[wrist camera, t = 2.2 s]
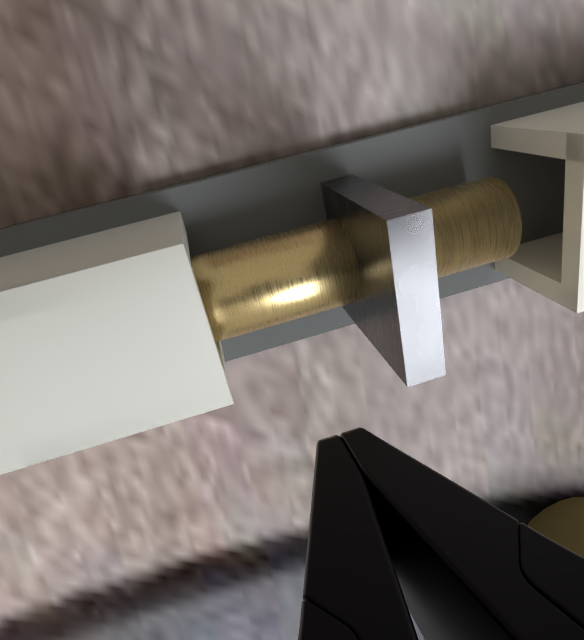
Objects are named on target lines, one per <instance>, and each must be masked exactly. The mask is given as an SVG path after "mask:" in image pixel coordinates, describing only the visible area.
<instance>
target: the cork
mask: <svg viewBox="0 0 584 640" xmlns="http://www.w3.org/2000/svg"><path fill="white" fill-rule="evenodd" d="M527 526H529V527H531V528H532V529H534V530H536V531H537V532H539V533H541V534H542V535H544V536H546V537H548V538H549V539H551V540H553V541H555V542H556V543H558V544H560V545H562V546H564V547H565V548H567V549H569V550H571V551H573V552H574V553H576V554H578V555H580V556H582V557H584V497H572V498H568V499H565V500H561V501H558V502H556V503H554V504H553V505H551V506H549V507H547V508H545V509H544V510H542V511H541V512H540V513H539V514H538V515H536V516H535V517H534V518H533V519H532V520H531V521H530V522H529V523H528V525H527Z"/></svg>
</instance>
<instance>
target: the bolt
mask: <svg viewBox="0 0 584 640" xmlns="http://www.w3.org/2000/svg"><path fill="white" fill-rule="evenodd" d="M321 189H322V194H323V200H324V205H325V211H326V216H327V220H325V221H322V222H318V223H314V224H310V225H307V226H303V227H299V228H295V229H292V230H288V231H284V232H281V233H277V234H273V235H269V236H266V237H262V238H258V239H254V240H251V241H247V242H243V243H240V244H236V245H232V246H228V247H225V248H221V249H217V250H213V251H210V252H206V253H202V254H199V255H195V256H191V257H190V261H191V266H192V269H193V273H194V276H195V279H196V282H197V285H198V288H199V292H200V295H201V298H202V301H203V304H204V307H205V311H206V314H207V317H208V320H209V323H210V327H211V330H212V333H213V336H214V339H215V342H219V341H222V340H226V339H229V338H233V337H236V336H240V335H243V334H247V333H250V332H253V331H257V330H260V329H264V328H267V327H271V326H274V325H278V324H281V323H285V322H288V321H292V320H295V319H298V318H302V317H305V316H309V315H312V314H316V313H319V312H323V311H326V310H330V309H333V308H336V307H340V306H343V309H344V310H345V311H346V312H347V314H348V315H349V316H350V317H351V318H352V320H353V321H354V322H355V323H356V325H357V326H358V327H359V328H360V329H361V331H362V332H363V333H364V334H365V336H366V337H367V338H368V339H369V340H370V342H371V343H372V344H373V345H374V347H375V348H376V349H377V350H378V351H379V353H380V354H381V355H382V356H383V358H384V359H385V360H386V361H387V362H388V364H389V365H390V366H391V367H392V369H393V370H394V371H395V372H396V374H397V375H398V376H399V377H400V378H401V380H402V381H403V382H404V383H405V385H406V386H407V387H409V386H412V385H416V384H419V383H422V382H425V381H428V380H432V379H435V378H438V377H441V376H444V375H446V372H445V360H444V348H443V336H442V324H441V312H440V300H439V288H438V278H440V277H444V276H447V275H451V274H454V273H458V272H461V271H464V270H468V269H471V268H475V267H478V266H482V265H485V264H489V263H492V262H496V261H499V260H503V259H506V258H509V257H511V256H512V255H514V254H515V252H516V251H517V249H518V247H519V244H520V241H521V235H522V220H521V214H520V210H519V206H518V203H517V201H516V198H515V196H514V194H513V193H512V191H511V189H510V188H509V187H508V185H507V184H506V183H505V182H504V181H502V180H501V179H499V178H497V177H493V176H490V177H485V178H482V179H478V180H474V181H471V182H467V183H463V184H459V185H456V186H452V187H448V188H444V189H441V190H437V191H433V192H430V193H426V194H422V195H418V196H415V197H411V198H406V197H404V196H402V195H399V194H397V193H395V192H392V191H390V190H388V189H386V188H383V187H381V186H379V185H376V184H374V183H372V182H369V181H367V180H365V179H362V178H360V177H358V176H355V175H353V174H351V175H348V176H344V177H340V178H336V179H332V180H328V181H324V182H321Z"/></svg>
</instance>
